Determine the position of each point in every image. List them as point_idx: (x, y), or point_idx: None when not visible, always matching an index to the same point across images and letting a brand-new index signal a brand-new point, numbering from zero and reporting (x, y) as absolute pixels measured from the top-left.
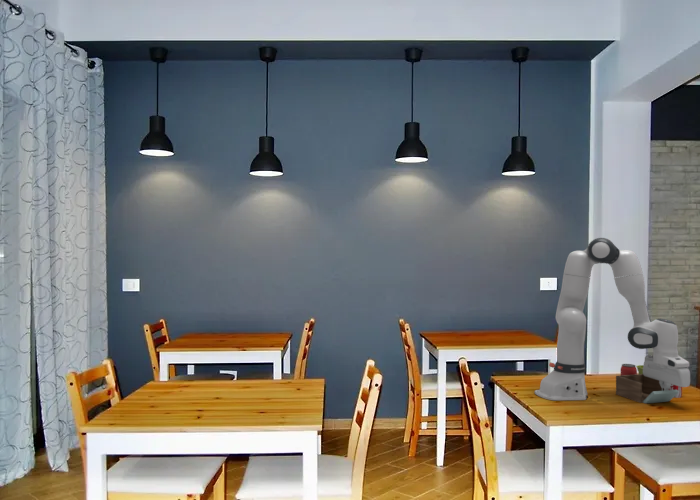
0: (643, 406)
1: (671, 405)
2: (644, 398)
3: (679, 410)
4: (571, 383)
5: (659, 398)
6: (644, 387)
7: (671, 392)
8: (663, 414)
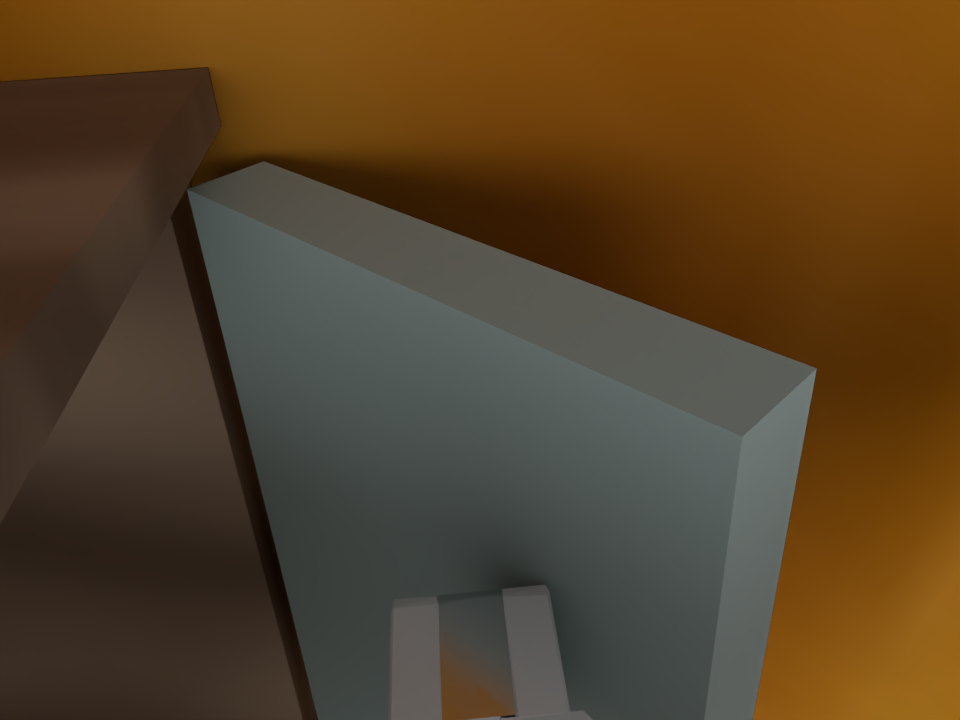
0: None
1: (441, 172)
2: (13, 575)
3: (852, 301)
4: None
5: None
6: None
7: (760, 652)
8: (891, 695)
